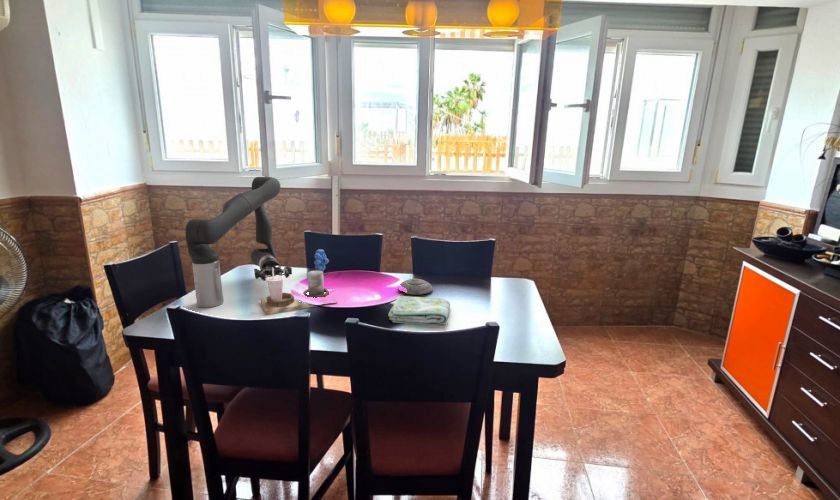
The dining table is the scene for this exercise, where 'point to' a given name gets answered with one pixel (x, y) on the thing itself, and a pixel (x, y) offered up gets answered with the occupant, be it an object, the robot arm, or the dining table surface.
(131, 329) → the dining table surface
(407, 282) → the grey rounded dome
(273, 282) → the smoothie
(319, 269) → the grapes
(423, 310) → the towel
